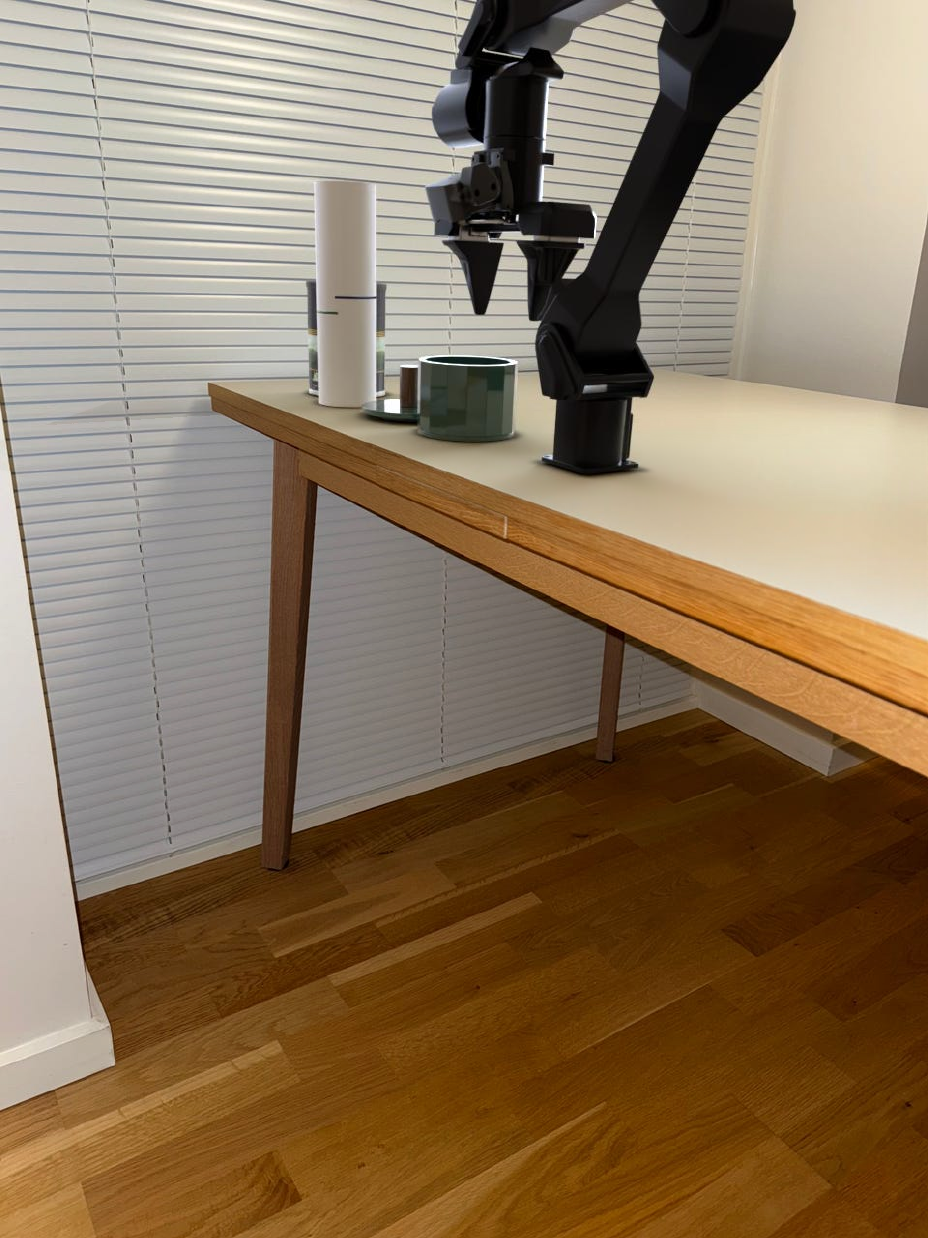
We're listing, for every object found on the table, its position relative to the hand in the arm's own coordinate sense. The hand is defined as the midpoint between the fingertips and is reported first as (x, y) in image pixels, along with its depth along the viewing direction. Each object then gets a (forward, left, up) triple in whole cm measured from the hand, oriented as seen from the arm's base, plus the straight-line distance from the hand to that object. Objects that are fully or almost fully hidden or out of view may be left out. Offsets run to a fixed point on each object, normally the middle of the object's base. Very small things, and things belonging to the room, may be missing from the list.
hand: (506, 317), depth 91 cm
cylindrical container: (-3, +29, -12) cm, 32 cm away
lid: (-1, +17, -11) cm, 20 cm away
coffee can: (+1, +37, -12) cm, 39 cm away
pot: (-1, +5, -12) cm, 13 cm away
